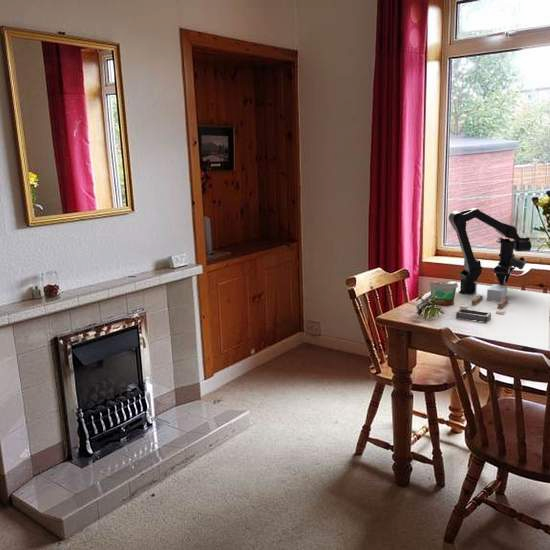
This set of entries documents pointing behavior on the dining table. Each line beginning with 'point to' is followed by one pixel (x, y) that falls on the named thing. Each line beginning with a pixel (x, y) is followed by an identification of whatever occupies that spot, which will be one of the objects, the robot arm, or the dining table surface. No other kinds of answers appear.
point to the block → (497, 292)
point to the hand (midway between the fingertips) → (504, 284)
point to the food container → (443, 293)
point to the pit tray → (473, 315)
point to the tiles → (496, 311)
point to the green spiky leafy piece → (432, 309)
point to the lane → (500, 304)
